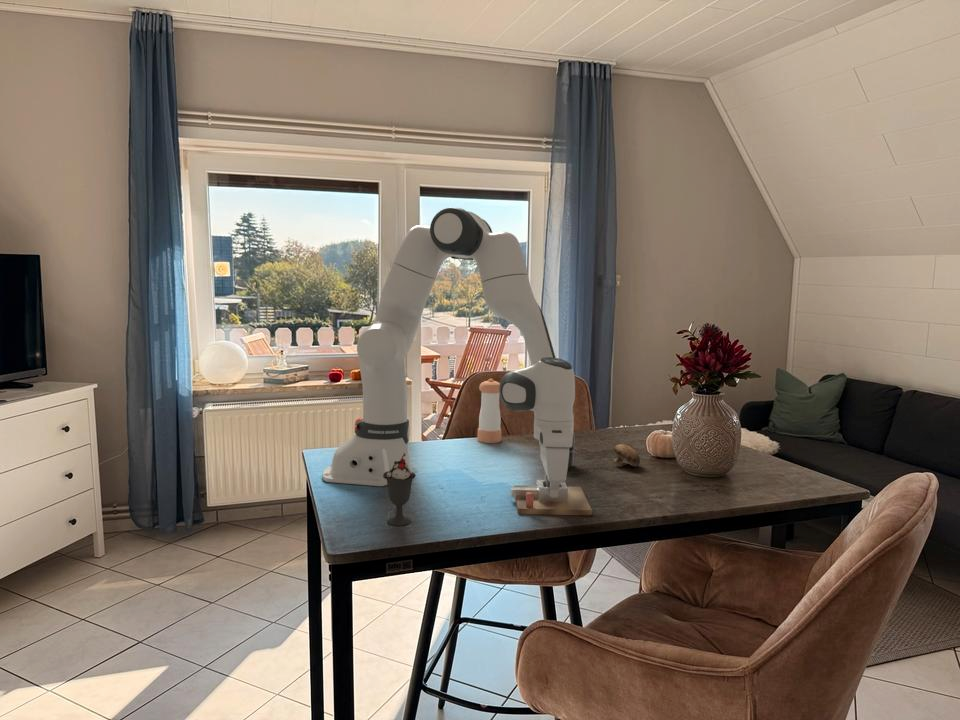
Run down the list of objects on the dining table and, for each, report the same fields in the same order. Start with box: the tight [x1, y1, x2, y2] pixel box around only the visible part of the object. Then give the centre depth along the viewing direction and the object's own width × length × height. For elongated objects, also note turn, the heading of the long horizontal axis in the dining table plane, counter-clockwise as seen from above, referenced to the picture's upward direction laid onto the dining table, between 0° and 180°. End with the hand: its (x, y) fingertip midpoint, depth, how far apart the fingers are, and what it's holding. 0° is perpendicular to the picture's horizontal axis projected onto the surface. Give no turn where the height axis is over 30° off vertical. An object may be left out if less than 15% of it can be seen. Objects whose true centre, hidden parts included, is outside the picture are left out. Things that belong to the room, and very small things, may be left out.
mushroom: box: [613, 443, 641, 468], centre depth 190 cm, size 8×8×6 cm
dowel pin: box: [526, 492, 534, 508], centre depth 152 cm, size 2×2×3 cm
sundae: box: [383, 453, 417, 527], centre depth 144 cm, size 7×7×15 cm
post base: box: [513, 478, 593, 516], centre depth 159 cm, size 16×16×6 cm
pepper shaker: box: [477, 378, 502, 444], centre depth 213 cm, size 7×7×19 cm
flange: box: [510, 479, 568, 502], centre depth 159 cm, size 12×6×3 cm, turn 91°
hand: (551, 489), depth 159 cm, fingers open, 8 cm apart
